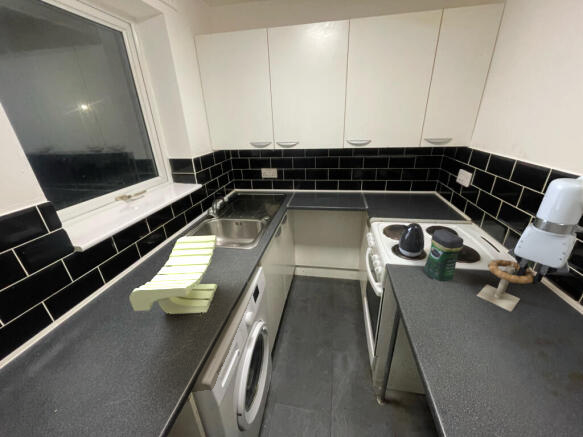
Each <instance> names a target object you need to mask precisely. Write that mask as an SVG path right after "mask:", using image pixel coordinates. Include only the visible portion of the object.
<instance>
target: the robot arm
mask: <svg viewBox="0 0 583 437" xmlns="http://www.w3.org/2000/svg"><path fill="white" fill-rule="evenodd" d="M582 216H583V174H581V175H580V176H579V177H577V178H569V177H568V178H567V177H564V178H562V177H561V178H556V179H553V180H552V181H551V182H550V183H549V185H548V186H547V189H546V192H545V194H544V196H543V198H542V201H541V203H540V205H539V208H538V211H537V212H536V215H535V217H534V218H533V219H534V220H533V222H530V223H528V225H527V226H526V227H525V228H524V231H523V232H522V234H521V236H520V237H519V239H518V241H517V243H516V245H515V246H514V247H512V248H511V249H510V250H508V252H507V254H508V255H509V256H511V257H512V258H514V259H515V261H516V263H517V262H518V263H519V266H520V268H519V270H518V272H517V274H518V275H519V276H524V275H525V273H526V270H527V268H528V264H527V263H528V261H529V260H531V261H532V262H535V263H537V264H540V265H542V266H541V268H540V269H538V270H537V272H536V273H535V274H534V275H535V278H534V280H533V282H532V283H531V284H532V285H534V286H535V285H536V284H537V283H541V282H542V280H543V278H544V277H545V275H548V274H554V273H559V274H560V273H561V274H562V273H563V274H565V273H566V274H568V273H569V272H570V266H569V262H568V260H569V258H570V255H571V253H572V251H573V248H574V246H575V243H576V239H577V233H583V226H581V225H579V222H580V219H581V218H582Z"/></svg>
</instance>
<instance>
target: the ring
mask: <svg viewBox="0 0 583 437" xmlns="http://www.w3.org/2000/svg"><path fill="white" fill-rule="evenodd" d="M506 266H512V267H514V268H515V270H519V268H520V266H519V263H517V261H516V262H515V261H512V260H508V259H493V260H491V261H490V262H489V263H488V264H487V268H488V270H489V271H490V273H491V274H493V275H494V276H496V277H497V278H499V279H500V280H501V279H504V280H506V281H509V283H513V284H519V285H526V284H532V282H533V280H534V278H535V275H536V274H535V273H534V271H533V270H532V269H531V268H530V267H529V268H527V270H526V273H525V275H524V276H515V275H514V274H513V275H511V274H508V273H506V272H504V271H503V270H502V269H500V268H499V267H502V268H503V267H504V268H506ZM515 270H514V271H515Z"/></svg>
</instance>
